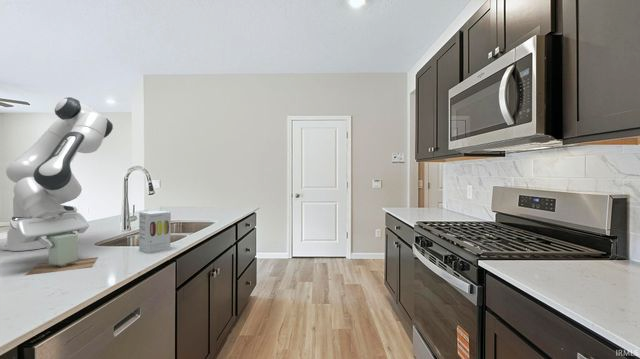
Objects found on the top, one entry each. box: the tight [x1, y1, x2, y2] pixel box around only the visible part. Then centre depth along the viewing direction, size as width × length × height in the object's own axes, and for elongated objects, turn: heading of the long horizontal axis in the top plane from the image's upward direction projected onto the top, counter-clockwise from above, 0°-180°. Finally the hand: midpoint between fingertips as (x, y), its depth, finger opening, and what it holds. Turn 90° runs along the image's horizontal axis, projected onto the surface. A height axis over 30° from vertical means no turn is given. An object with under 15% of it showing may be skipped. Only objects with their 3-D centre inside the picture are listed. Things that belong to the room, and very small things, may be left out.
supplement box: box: [138, 210, 172, 255], centre depth 129 cm, size 10×9×17 cm
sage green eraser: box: [48, 234, 79, 265], centre depth 104 cm, size 5×6×9 cm
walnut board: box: [25, 256, 99, 276], centre depth 104 cm, size 14×17×1 cm
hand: (64, 244), depth 104 cm, fingers closed on sage green eraser, 6 cm apart
